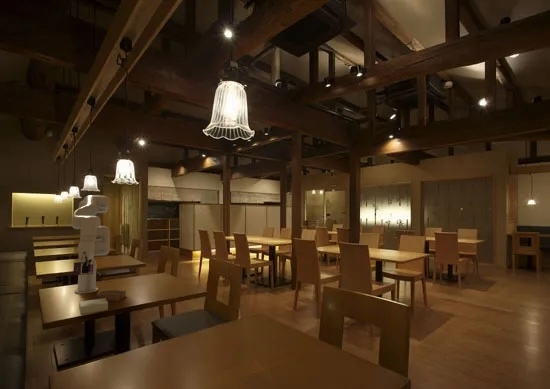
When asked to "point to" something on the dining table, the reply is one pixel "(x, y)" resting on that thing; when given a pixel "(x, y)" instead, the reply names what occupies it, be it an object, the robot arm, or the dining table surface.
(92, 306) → the sage block
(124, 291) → the walnut block
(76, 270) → the purple printed box
